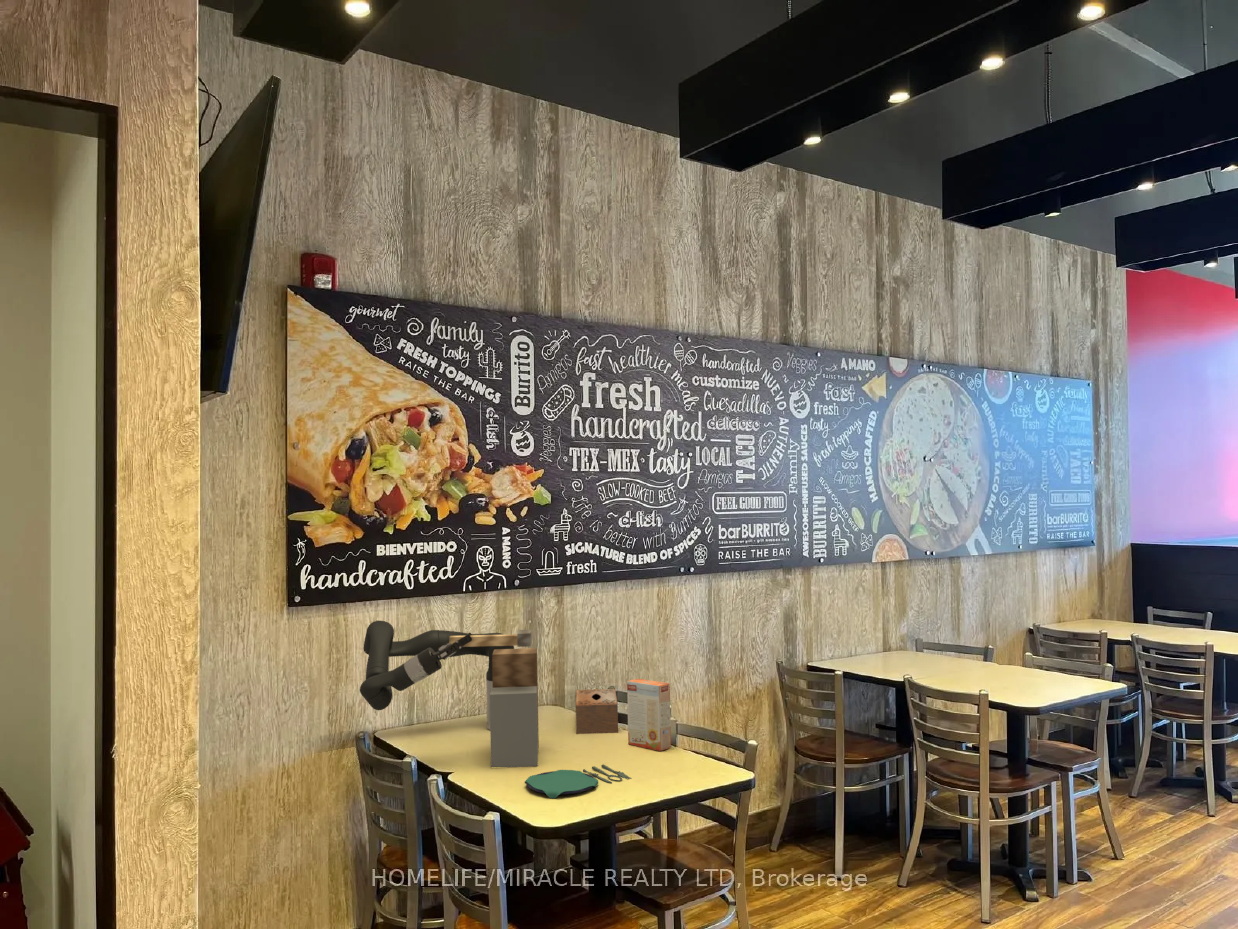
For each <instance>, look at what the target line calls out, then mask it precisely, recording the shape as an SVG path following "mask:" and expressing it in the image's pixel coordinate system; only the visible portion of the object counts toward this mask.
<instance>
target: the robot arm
mask: <svg viewBox="0 0 1238 929" xmlns="http://www.w3.org/2000/svg"><path fill="white" fill-rule="evenodd" d="M394 635H395V630H394V627H393V625H392V624H391V623H389V622H388V621H385V620H374V621H372V622H370V624H368V627H367V629H366V631H365V637H364V641H363V648H362V649H363V652H364V653H365V654H366V655H368V656H367V664H366V670H365V680H364V681H362V683H361V685H360V687H359V693H360V695H361V696H362V697H363V699H365V701H366V702H367V703H368V705H369V706H370V707H371V708H372V709H373V710H376V711H383V710H386V708H387V707H389V706H390V705H391V702H392V700H393V689H392V688H394V689H395V690H396V691H397V692H398V691H399V692H402V691H405V690H407V689H408V688H409V687H411V686H413V685H415V684H416V683H418V682H420V681H423V680H424V679H426V678H427V677H429V676H431V675H433V674H434V673H436V672H438V671H440V670H441V669H442V667H443V666H442V665H443V664H442V661H441V660H443V661H446V660H447V659H449V658H454V657H461V656H466V655H469V656H470V655H471V656H472V655H476V656H483V657H488V669H487V671H486V674H485V675H486V676H485V677H486V680H485V682H486V728H487V730H489V731H490V693H491V690H492V688H493V676H492V654H493V651H494V650H495V649H515V646H474V647H462V646H464V645H465V644H467V643H469V642H470V641H472V638H471V636H470V635H505V634H504V633H501V632H489V633H471V632H468V633H467V632H462V631H454V630H453V631H452V630H445V629H444V630H441V629H431V630H427V631H425V632H422V633H421V634H418V635H416V636H413V637H412V638H409V639H407V640H399V641H394V637H395V636H394ZM450 636H464V637H463V638H461V639H460V640H457V641H455V642H454V643H449V637H450ZM391 657H393V658H394V657H411V658H409V659H408V660H407V661H405V662H404V663H403V664H400V665H399V666H397V667H396V668H394V669H391V670H389V669H390V658H391Z"/></svg>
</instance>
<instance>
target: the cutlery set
mask: <svg viewBox="0 0 1238 929" xmlns="http://www.w3.org/2000/svg"><path fill="white" fill-rule="evenodd" d="M600 766H601V768H602V769H605V770H607V771H608V772H610V773H613V774H609V773H607V772H605V771H604V770H602V769H600V768H598V767H596V766H591V769H592V770H593V771H594V770H595V771H597V772H598V773H597V772H596V773H595V772H591V771H589V770H586V768H584V769H582V771H581V770H573V769H557V770H555V771H554V770H553V771H546V772H540V773H538V774H532V775H530V776H528V777H527V778H526V780H524V784H526V787H527V788H529V789H530V790H532V791H534V792H537V793H542V794H546V796H547V797H548V798H550V799H556V798H557V797H558V796H559V795H571V794H579V793H582V792H585V791H588V790H590V789H596V787H597V786H598V785H599V780H600V781H603V782H605V783H607V784H613V781H614V782H619V781H622V780H623V779H625V780H632V779H633V777H630V776H628V775H627V774H625V773H624V772H622V771H620V770H615V769H612V768H611V767H609V766H607V765H606V764H601V765H600ZM599 772H600V773H601V774H603V775H605V776H606V777H607V779H606V778H604V777H601V775H599ZM614 774H615V775H614ZM615 778H617V779H615Z"/></svg>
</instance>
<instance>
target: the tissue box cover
mask: <svg viewBox="0 0 1238 929" xmlns="http://www.w3.org/2000/svg"><path fill="white" fill-rule="evenodd" d="M575 691H576V694H575V729H576V730H575V731H576V732H575V734H576V735H586V734H588V735H589V734H590V735H591V734H593V735H594V734H595V735H596V734H619V712H618V710H619V708H618V707H619V706H618V698H617V692H616V688H603V689H602V688H601V689H599V688H596V689H594V688H593V689H576V690H575Z"/></svg>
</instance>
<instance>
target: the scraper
mask: <svg viewBox="0 0 1238 929" xmlns="http://www.w3.org/2000/svg"><path fill="white" fill-rule="evenodd" d="M470 636H471V638H472V641H470V642H469V643H467V644H465V645H464V646H462V647H474V646H514V647H515V646H517V647H518V648H519V647H520V648H524V647H531V646H532V629H518V630H517V633H516V634H504V635H470ZM463 637H464V636H450V637H449V643H454V642H455V641H457V640H460V639H461V638H463Z"/></svg>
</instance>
